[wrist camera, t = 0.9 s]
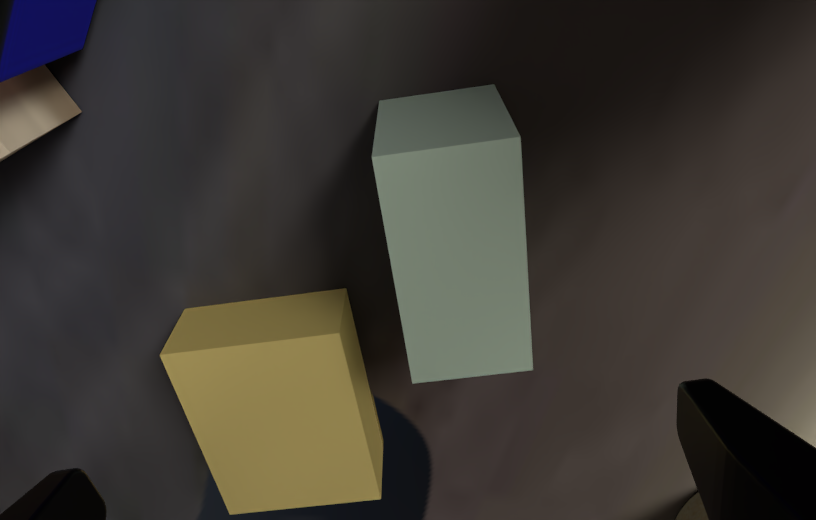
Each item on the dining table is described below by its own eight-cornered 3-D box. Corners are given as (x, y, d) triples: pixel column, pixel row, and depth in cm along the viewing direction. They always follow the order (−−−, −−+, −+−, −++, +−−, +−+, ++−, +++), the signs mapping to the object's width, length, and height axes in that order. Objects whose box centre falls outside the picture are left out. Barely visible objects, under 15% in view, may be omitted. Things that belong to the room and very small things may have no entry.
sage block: (493, 83, 19) (520, 136, 14) (508, 279, 22) (532, 369, 18) (379, 100, 19) (371, 157, 15) (411, 290, 22) (412, 383, 18)
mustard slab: (346, 283, 22) (339, 333, 20) (383, 440, 26) (380, 499, 24) (187, 303, 23) (159, 355, 20) (246, 455, 27) (229, 514, 24)
